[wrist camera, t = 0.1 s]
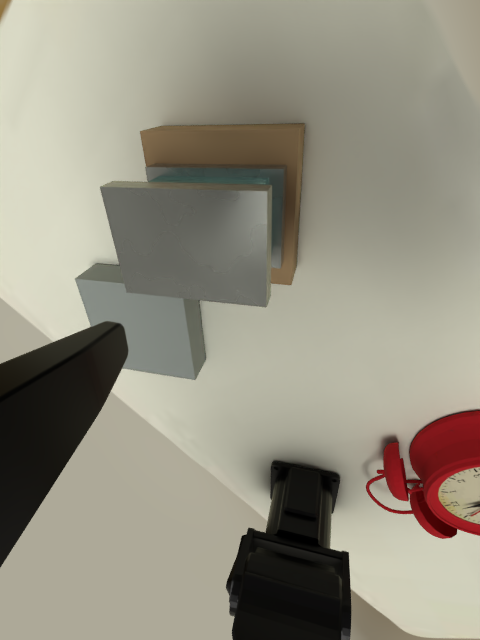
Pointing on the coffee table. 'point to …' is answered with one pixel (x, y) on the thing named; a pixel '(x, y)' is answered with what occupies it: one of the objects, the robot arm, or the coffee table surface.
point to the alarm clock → (439, 476)
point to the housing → (200, 230)
